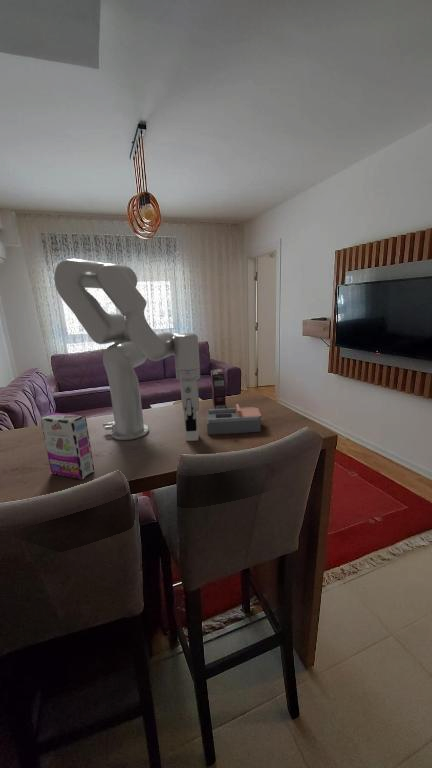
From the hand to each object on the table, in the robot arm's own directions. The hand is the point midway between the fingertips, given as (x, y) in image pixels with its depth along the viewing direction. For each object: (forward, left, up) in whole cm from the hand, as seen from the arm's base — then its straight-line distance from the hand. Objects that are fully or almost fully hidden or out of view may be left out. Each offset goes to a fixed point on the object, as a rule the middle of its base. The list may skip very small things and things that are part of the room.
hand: (191, 427), depth 104 cm
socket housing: (+14, +7, -4) cm, 16 cm away
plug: (0, 0, -4) cm, 4 cm away
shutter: (+20, +8, 0) cm, 21 cm away
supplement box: (+10, +27, -4) cm, 29 cm away
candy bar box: (-32, -18, -4) cm, 37 cm away
